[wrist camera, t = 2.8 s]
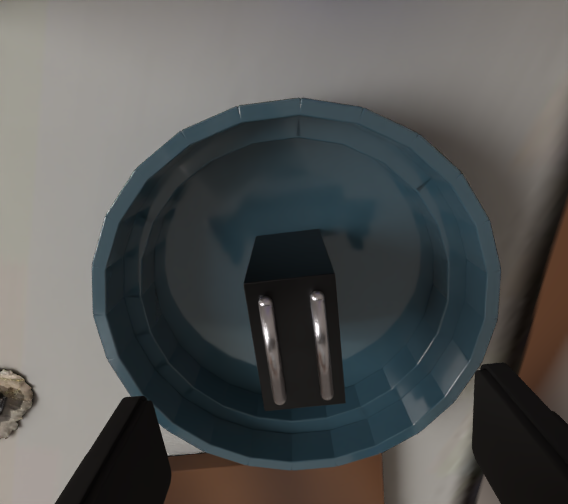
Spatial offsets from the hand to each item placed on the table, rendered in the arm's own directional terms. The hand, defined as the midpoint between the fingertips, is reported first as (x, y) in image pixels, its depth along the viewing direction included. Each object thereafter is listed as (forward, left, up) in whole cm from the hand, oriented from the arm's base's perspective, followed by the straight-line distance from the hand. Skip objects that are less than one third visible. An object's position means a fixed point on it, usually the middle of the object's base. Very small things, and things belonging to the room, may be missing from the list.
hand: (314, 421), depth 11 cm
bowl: (0, 0, -10) cm, 10 cm away
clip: (0, 0, -9) cm, 9 cm away
